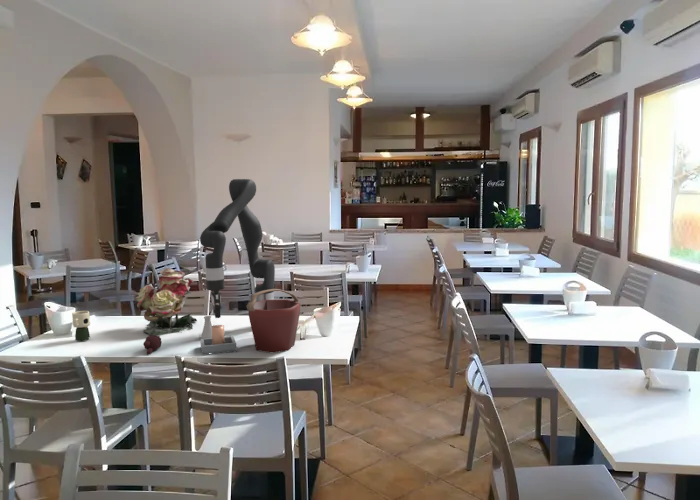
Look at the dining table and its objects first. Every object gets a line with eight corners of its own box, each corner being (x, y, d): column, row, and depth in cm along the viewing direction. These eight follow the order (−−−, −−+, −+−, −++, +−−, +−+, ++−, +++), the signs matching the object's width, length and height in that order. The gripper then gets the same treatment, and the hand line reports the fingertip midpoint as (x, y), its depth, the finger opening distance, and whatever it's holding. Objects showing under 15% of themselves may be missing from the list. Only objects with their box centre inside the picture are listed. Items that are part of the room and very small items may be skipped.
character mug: (85, 343, 257) (82, 315, 255) (69, 343, 257) (67, 315, 255) (95, 336, 267) (94, 309, 266) (80, 337, 267) (78, 309, 266)
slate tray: (233, 343, 252) (233, 336, 252) (236, 351, 241) (236, 343, 241) (200, 346, 248) (200, 339, 248) (202, 354, 237) (201, 346, 237)
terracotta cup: (224, 344, 248) (223, 324, 247) (225, 348, 243) (224, 327, 242) (211, 345, 246) (211, 325, 245) (212, 349, 241) (211, 328, 240)
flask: (212, 340, 259) (211, 318, 257) (197, 339, 260) (196, 318, 259) (219, 336, 266) (218, 315, 264) (204, 335, 267) (203, 314, 266)
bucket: (251, 357, 233) (249, 297, 230) (239, 343, 253) (237, 287, 250) (308, 349, 242) (307, 291, 239) (292, 336, 263) (291, 283, 260)
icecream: (148, 331, 251) (134, 343, 237) (164, 327, 251) (151, 339, 236) (154, 345, 253) (140, 359, 238) (169, 341, 252) (157, 354, 237)
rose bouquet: (136, 325, 288) (133, 266, 284) (196, 320, 297) (193, 263, 293) (135, 338, 263) (131, 274, 260) (200, 332, 273) (197, 270, 269)
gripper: (225, 280, 235) (227, 318, 237) (222, 274, 249) (224, 310, 251) (206, 281, 233) (209, 320, 235) (204, 275, 247) (207, 312, 249)
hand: (217, 315), depth 243 cm, fingers open, 8 cm apart
